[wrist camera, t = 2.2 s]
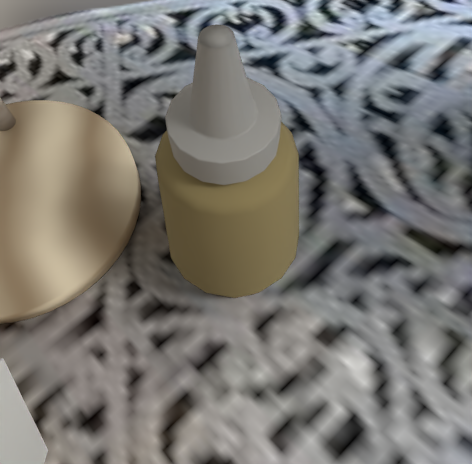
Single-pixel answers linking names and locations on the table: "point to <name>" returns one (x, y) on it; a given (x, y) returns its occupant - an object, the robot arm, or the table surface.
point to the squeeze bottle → (228, 176)
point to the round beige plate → (60, 204)
